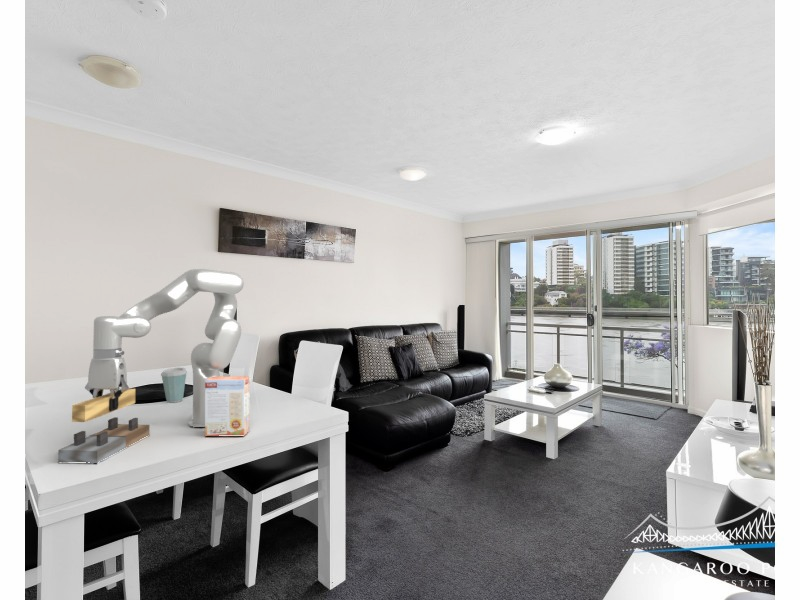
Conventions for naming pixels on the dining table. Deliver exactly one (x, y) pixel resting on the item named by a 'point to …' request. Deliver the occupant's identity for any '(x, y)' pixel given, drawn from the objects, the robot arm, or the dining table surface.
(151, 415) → the dining table surface
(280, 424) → the dining table surface
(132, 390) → the bar
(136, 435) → the door and jamb
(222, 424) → the cracker box
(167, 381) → the disposable coffee cup
